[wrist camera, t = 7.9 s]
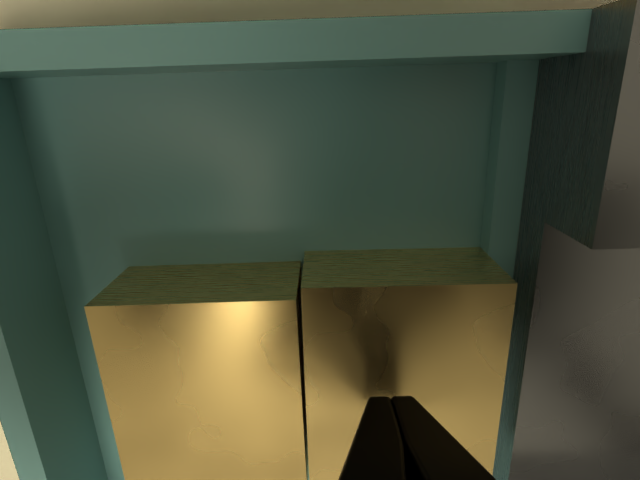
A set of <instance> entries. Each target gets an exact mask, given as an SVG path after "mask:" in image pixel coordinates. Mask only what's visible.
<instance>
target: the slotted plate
mask: <svg viewBox="0 0 640 480" xmlns="http://www.w3.org/2000/svg"><path fill="white" fill-rule="evenodd" d="M513 279H514V280H515V281H516V282H517V283H518V284H517V292H516V300H515V307H514V315H513V322H512V330H511V338H510V345H509V353H508V360H507V368H506V376H505V383H504V391H503V399H502V406H501V414H500V421H499V429H498V437H497V444H496V452H495V459H494V467H493V475H492V476H493V477H494V478H495V479H496V480H640V0H619V1H616V2H612V3H609V4H606V5H603V6H600V7H597V8H593V9H592V14H591V21H590V27H589V34H588V40H587V47H586V52H583V53H577V54H570V55H564V56H558V57H551V58H545V59H540V60H539V68H538V77H537V85H536V93H535V101H534V109H533V118H532V126H531V134H530V142H529V151H528V159H527V167H526V175H525V183H524V192H523V200H522V208H521V216H520V224H519V233H518V241H517V249H516V257H515V265H514V274H513Z"/></svg>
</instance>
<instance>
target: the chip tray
mask: <svg viewBox="0 0 640 480" xmlns="http://www.w3.org/2000/svg"><path fill="white" fill-rule="evenodd" d="M591 14H592V9H573V10H544V11H516V12H487V13H458V14H430V15H401V16H372V17H343V18H315V19H286V20H257V21H229V22H200V23H171V24H142V25H114V26H85V27H56V28H27V29H0V421H1V424H2V427H3V430H4V434H5V437H6V440H7V443H8V446H9V449H10V452H11V455H12V458H13V461H14V464H15V467H16V470H17V473H18V476H19V479H20V480H125V479H124V475H123V470H122V466H121V462H120V458H119V453H118V449H117V445H116V441H115V436H114V432H113V428H112V423H111V419H110V415H109V411H108V406H107V402H106V398H105V394H104V389H103V385H102V381H101V377H100V372H99V368H98V364H97V359H96V355H95V351H94V347H93V342H92V338H91V334H90V330H89V325H88V321H87V317H86V313H85V308H84V306H85V305H87V304H88V303H89V302H90V301H91V300H92V299H93V298H94V297H95V296H97V295H98V294H99V293H100V292H101V291H102V290H103V289H104V288H106V287H107V286H108V285H109V284H110V283H111V282H112V281H113V280H114V279H116V278H117V277H118V276H119V275H120V274H121V273H122V272H123V271H124V270H126V269H127V268H128V267H130V266H161V265H193V264H224V263H255V262H286V261H301V275H302V272H303V263H304V254H305V251H330V250H373V249H417V248H460V247H480V248H482V249H483V250H484V251H485V252H486V253H487V254H488V255H489V256H490V257H491V258H492V259H493V260H494V261H495V262H496V263H497V264H498V265H499V266H500V267H501V268H502V269H503V270H504V271H505V272H506V273H507V274H508V275H509V276H510V277H511V278H512V279H513V274H514V265H515V257H516V249H517V241H518V233H519V224H520V216H521V208H522V200H523V192H524V183H525V175H526V167H527V159H528V151H529V142H530V134H531V126H532V118H533V109H534V101H535V93H536V85H537V77H538V68H539V60H540V59H545V58H551V57H558V56H564V55H570V54H577V53H583V52H586V47H587V40H588V34H589V27H590V21H591Z"/></svg>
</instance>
